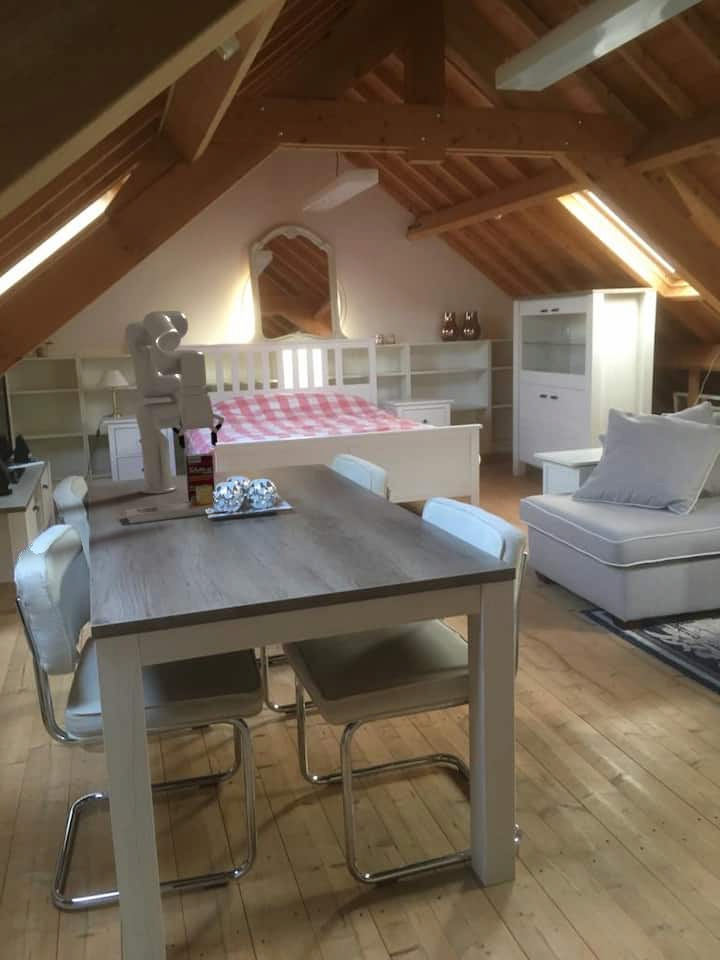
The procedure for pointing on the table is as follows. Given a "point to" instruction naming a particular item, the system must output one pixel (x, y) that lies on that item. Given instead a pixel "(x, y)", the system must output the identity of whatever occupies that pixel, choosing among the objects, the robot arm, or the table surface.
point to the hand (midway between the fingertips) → (198, 446)
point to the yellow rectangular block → (204, 495)
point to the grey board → (166, 512)
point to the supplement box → (199, 473)
